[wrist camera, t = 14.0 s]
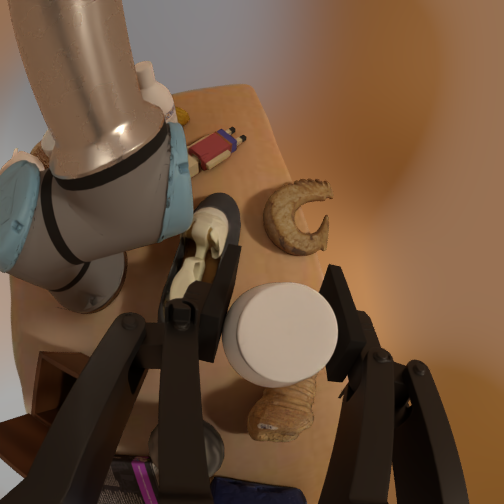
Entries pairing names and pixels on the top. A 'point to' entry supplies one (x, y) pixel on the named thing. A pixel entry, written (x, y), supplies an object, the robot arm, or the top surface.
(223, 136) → the toy
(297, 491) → the blue rectangular carton
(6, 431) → the lid
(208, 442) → the decorative stone
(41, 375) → the chest
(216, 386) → the top surface
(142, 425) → the top surface
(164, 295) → the ballet flat
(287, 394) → the seashell
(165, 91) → the bath foam
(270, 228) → the artifact
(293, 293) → the pill bottle
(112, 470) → the box
